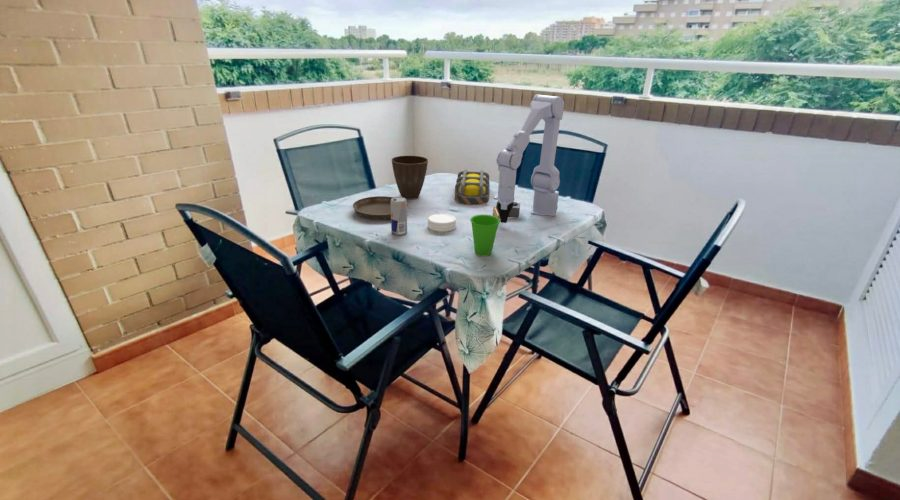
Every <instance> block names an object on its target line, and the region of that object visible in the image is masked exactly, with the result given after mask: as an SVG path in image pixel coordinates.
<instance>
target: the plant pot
mask: <svg viewBox="0 0 900 500" xmlns="http://www.w3.org/2000/svg"><path fill="white" fill-rule="evenodd" d="M428 163H429V159H428V158H426V157H424V156H418V155H400V156H394V157H392V158H391V165H392V166H391V167H392V170H393V171H392V172H393V176H394V179H395V183H396V187H397V188H398V192H399V195H400V197H404V198H406V200H416V199H418V198H419V197H420V194H421V192H422V190H423V186H424V183H425V178H426V175H427V169H428Z"/></svg>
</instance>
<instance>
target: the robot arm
mask: <svg viewBox="0 0 900 500" xmlns="http://www.w3.org/2000/svg"><path fill="white" fill-rule="evenodd" d="M529 105H530V107H529V108H530V111H529V113H528V115H527V116H526V119H525V121H524V123H523V124H522V127H521V129H520V130H518V131H515V133H513V135H512V137H511V139H510V141H509V142H508V144H507V145H506V147H505V149H503V150H501V151H499V153H498V154H497V157H496V164H497V170H498V173H499V174H498V185H497V186H498V187H497V188H498V189H497V195H495V196H494V197H493V199H494V200H497V201H498V203H497V202H496V203H497V207H498V210H499V213H500V216H499V220H500V223H501V224H502V223H503V224H507V222H508V221H509V217H508V216H509V213H510V211H511V209H512V208H513V204H514V202H515V190H516V178H517V169H518V168H519V167H520V165H521V163H522V158H523V155H524V154H523V153H524V151H525V150H526V148H527V146H528V145H529V143H530V142H531V139H530V135H531V134H533V132H534V130H535V129H536V127H537V126H538V125H539V123H540V121H541V120H543V121H544V129H543V135H542V136H543V137H542V143H541V152H540V159H539V160H540V161H539V165H536V166H535V167H534V168H533V172H532V175H531V177H530V184H531V186H532V187H533V188H532V189H533V190H534V191H533V201H532V206H531V211H530V213H531V214H532V215H538V216H539V215H540V216H541V215H543V216H550V217H551V216H552V217H553V216H554V217H555V216H557V211H558V202H559V191H558V190H557V189H559V186H560V183H561V179H560V171H559V169H558V168H557V167H556V166H555V159H556V153H557V152H556V151H557V145H558V139H559V133H560V132H559V130H560V125H561V121H562V120H563V115H564V109H565V101H564V99H563V97H562V96H555V95H547V94H546V95H545V94H539V93H537V94H535V95H534V96H533V98H532V100H531V102H530V104H529Z"/></svg>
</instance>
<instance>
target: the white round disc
mask: <svg viewBox="0 0 900 500" xmlns="http://www.w3.org/2000/svg"><path fill="white" fill-rule="evenodd" d="M456 227H457V219H456V217H455V216H454V215H452V214H448V213H435V214H432V215H430V216H428V218H427V228H428V229H429V230H430V231H434V232H437V233H439V232H440V233H445V232H451V231H454V230H455V229H456Z"/></svg>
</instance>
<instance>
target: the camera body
mask: <svg viewBox="0 0 900 500" xmlns="http://www.w3.org/2000/svg"><path fill="white" fill-rule="evenodd" d="M513 202H514V204H513V208H512V209H511V211H510V213H509V216H508V218H512V219H514V218H515V219H520V209H521V203H520V202H517V201H513ZM497 203H498V200H497V201H496V204H495V207H496V209H497V211H498V214H499V217H500V213H499V210H498V207H497ZM492 216H494V215H493V214H492Z"/></svg>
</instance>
